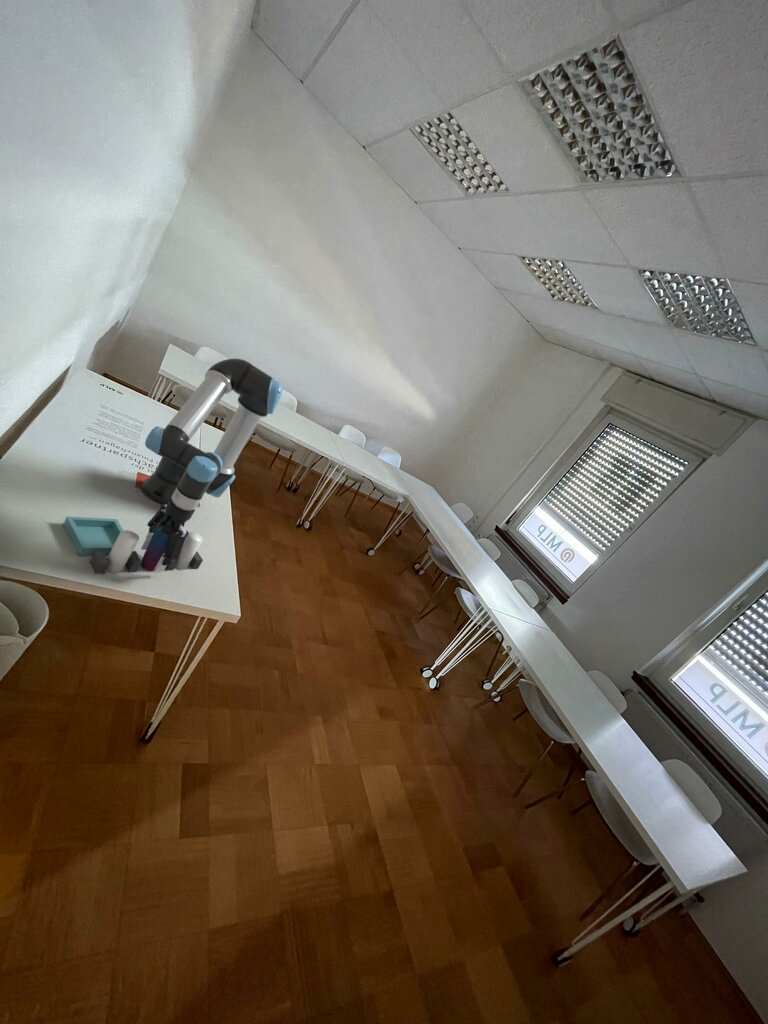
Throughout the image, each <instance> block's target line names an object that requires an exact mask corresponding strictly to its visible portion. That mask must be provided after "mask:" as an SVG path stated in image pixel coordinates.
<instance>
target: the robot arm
mask: <svg viewBox="0 0 768 1024" xmlns="http://www.w3.org/2000/svg"><path fill="white" fill-rule="evenodd" d="M283 389H284V387H283V385H282V384H281V383H280V382H279V381H277V380H276V379H275V378H274V377H272V376H271V375H269V374H268V373H266V372H264V371H262V370H261V369H260V368H258V367H257V366H255V365H253V364H251V363H250V362H249V361H247V360H244V359H242V358H227V359H224V360H220V361H218V362H216V363H215V364H213V365H212V366H210V367H209V368H208V370H207V371H206V372H205V374H204V379H203V381H202V382H201V384H200V385H199V386H198V387H197V388H196V389H195V390H194V392H193V393H192V394H191V395H190V397H189V398H188V399H187V401H186V402H185V403H184V404H183V405H182V407H181V408H180V409H179V410H178V411H177V413H176V414H175V415H174V416H173V417H172V419H171V420H170V421H169V423H168V424H167V425H166V426H165V427H164V428H163V427H161V426H155V427H154V428H152V429H151V430H150V432H149V433H148V435H147V437H146V439H145V442H144V443H145V447H146V448H147V449H148V450H150V451H151V452H153V453H154V454H156V455H157V456H160V457H161V459H160V461H159V462H158V465H157V466H156V469H155V471H154V472H153V473H151V475H150V476H149V477H148V478H146V479H145V480H144V481H143V483H142V485H141V486H140V487H141V491H142V493H143V494H144V495H145V496H146V497H147V498H148V499H150V500H152V501H154V502H156V503H158V504H161V505H160V508H159V509H158V511H157V512H156V513H155V514H154V515H153V517H152V518H151V519H150V520H149V521H148V522H147V527H149V528H148V533H147V535H146V537H145V540H144V542H143V543H142V546H141V547H140V549H141V550H142V551H146V549H147V547H148V545H149V542H150V540H151V538H152V536H153V534H154V531H155V529H156V527H157V525H158V524H159V523H161V525H166V526H167V528H168V533H167V534H168V535H169V538H168V542H167V547H166V553H165V554H163V555H162V557H161V558H160V560H159V562H158V564H157V566H156V567H155V569H154V571H153V572H154V573H155V572H157V573H158V572H159V573H160V572H164V571H165V570H166V569H165V568H166V566H167V565H169V563H170V561H171V560H177V559H178V558H179V555H180V552H181V549H182V547H183V544H184V541H185V538H186V537H187V535H188V533H190V532H189V530H186V529H185V523H186V522H187V521H189V520H191V518H192V516H193V515H194V513H195V512H196V509H197V508H198V506H199V504H200V502H201V501H202V499H203V498H204V495H205V493H206V494H207V495H209V496H212V497H214V498H220V497H222V495H223V494H224V493H225V492H226V491H227V489H229V487H230V485H231V484H232V483H233V482H234V481H235V479H236V475H235V474H234V473H235V467H234V465H235V464H236V461H237V460H238V459H239V456H240V454H241V453H242V451H243V449H244V448H245V446H246V444H247V442H248V440H249V439H250V437H251V435H252V434H253V432H254V430H255V428H256V426H257V425H258V423H259V421H260V420H261V418H266V417H267V416H268V415H272V414H273V413H274V412H275V410H276V408H277V405H278V404H279V401H280V399H281V397H282V393H283ZM232 391H233V392H234V393H235V394H237V395H239V396H238V398H237V402H238V407H237V409H236V411H235V412H234V415H233V417H232V418H231V419H230V422H229V424H228V425H227V427H226V429H225V431H224V433H223V435H222V436H221V438H220V440H219V442H218V444H216V448H215V449H214V451H213V452H212V451H207V452H205V451H203V450H201V449H199V448H198V447H197V446H194V445H192V444H191V443H189V442H190V440H191V439H192V438H193V437H194V436H195V434H196V432H197V431H198V430H199V429H200V427H201V426H202V424H203V423H204V422H205V421H206V419H207V418H208V417H209V415H210V414H211V413H212V411H213V410H214V409H215V407H216V406H217V405H218V403H219V402H220V401H221V399H222V398H223V397H224V395H227V394H230V393H231V392H232ZM172 531H177V532H172Z"/></svg>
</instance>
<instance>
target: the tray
mask: <svg viewBox="0 0 768 1024" xmlns="http://www.w3.org/2000/svg"><path fill="white" fill-rule="evenodd" d="M62 526H63V527H64V530H65V532H66V534H67V535H68V538H69V540H70V542H71V544H72V545H73V548H74V550H75V552H76V554H77V556H78V557H92V555H93V553H94V551H103V552H104V554H105V556H106V557H108V555H109V554H110V552H111V550H112V548H113V546H114V544H115V542H116V540H117V538H118V536H119V534H120V532H121V531H125V530H124V528H123V527H122V526H121V523H120V522H119V520H118V519H117V518H105V517H104V518H101V517H83V516H66V518H65V520H64V522H63V524H62Z"/></svg>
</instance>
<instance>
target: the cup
mask: <svg viewBox="0 0 768 1024" xmlns="http://www.w3.org/2000/svg"><path fill="white" fill-rule="evenodd" d="M172 532H177V531H172ZM167 533H168V528H167V526H166V525H161V523H159V524H158V525H157V527H156V529H155V531H154V534H153V536H152V538H151V540H150V542H149V545H148V547H147V549H146V550H144V553H143V556H142V559H140V560H141V561H142V563H141V565H140V567H141V568H142V569H143V570H144V571H148V572H155V571H154V569H155V567H156V566H157V564H158V562H159V560H160V558H161V557H162V555H163V554H165V553H166V547H167V542H168V538H169V535H168V534H167Z"/></svg>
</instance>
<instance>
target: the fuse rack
mask: <svg viewBox="0 0 768 1024" xmlns="http://www.w3.org/2000/svg"><path fill="white" fill-rule="evenodd" d="M139 539H140V536H139V535H138V534H137V533H136V532H133V531H131V530H126V529H125V530H124V531H121V532H120V534H119V536H118V538H117V540H116V542H115V544H114V546H113V548H112V550H111V552H110V554H109V555H108V556H105V554H104V552H103V551H94V553H93V555H92V556H90V559H89V561H88V564H89V565H90V568H91V570H92V571H93V573H94V575H103V574H105V573H106V572H109V573H111V572H112V573H111V574H119V573H122V571H124V570H123V569H124V568H125V569H126V570H127V571H126V572H128V573H137V572H138V571H139V569H140V567H141V566H140V565H141V563H142V561H141V560H142V559H141V558H140V556H139V555H138V553H137V551H136V550H134V549H135V548H136V546H137V544H138V542H139ZM203 540H204V538H203V537H202V535H200V534H199V533H196V532H189V533H188V535H187V537H186V538H185V541H184V544H183V547H182V549H181V552H180V555H179V558H178V559H177V560H171V561H170V563H169V565H167V566H166V568H165V569H164V570H165V571H174V569H178V570H186V569H188V566H189V567H190V569H191V570H198V569H200V566H201V564H202V563H203V561H204V559H203V558H202V556H201V554H200V553H199V552H198V550H199V548H200V546H201V544H202V542H204V541H203Z"/></svg>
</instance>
